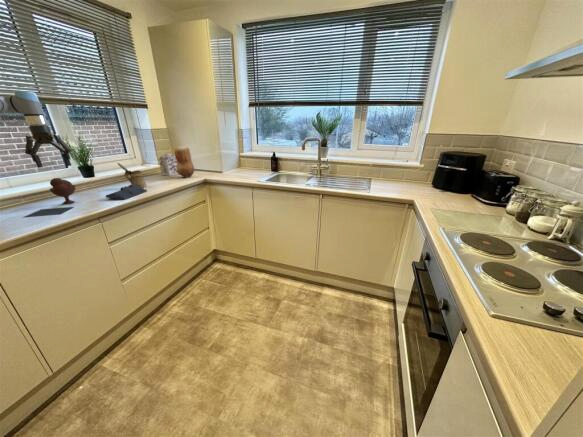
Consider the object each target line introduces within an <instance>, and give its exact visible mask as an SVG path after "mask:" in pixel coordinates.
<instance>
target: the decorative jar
mask: <svg viewBox="0 0 583 437" xmlns="http://www.w3.org/2000/svg"><path fill="white" fill-rule="evenodd" d="M158 162H159V166H160V171H161V175H162V176H167V177H171V176H177V175H179V174H178V172H177V160H176V157H175V154H171V153H169V152H167V153H164V155H161V156H160V157H159V158H158Z"/></svg>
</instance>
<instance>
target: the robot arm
mask: <svg viewBox="0 0 583 437" xmlns="http://www.w3.org/2000/svg"><path fill="white" fill-rule="evenodd" d="M18 113H20V114H22V115H23V117H24V119H25V121H26V124H27V125H28V129H29V131H30V134H32V135H29V134H28V135H25V142H26V143H25V150H24V154H25V155H30V156H31V160H32V161H33V162H35V164H36V167H37V169H39V168H43V167H44V165H43V162H42V161H41V158H40V156H39V154H37V153H38V151H39V149H40V147H41V146H42V145H52V146H53V147H54V148H56V149H57V150H58V151H60V152H61V153H62V154H61V155H62V158H63V161H64V162H65V165H66V167H70V166H72V162H71V161H70V160H71V156H70V153H72V152H73V149H71V148H70V146H68V145H67V143H66V142H64V140H63V139H62V138H61V135H60V134H52V131H51V128H50V126H49V125H48V121H47V119H46V116H45V113H44V110H43V107H42V104H41V101H40V100H39V98H38V96H37V94H36V93H35V92H34V91H30V90H29V91H28V90H15V91H14V95H0V114H18Z"/></svg>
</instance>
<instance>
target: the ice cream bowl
mask: <svg viewBox="0 0 583 437" xmlns="http://www.w3.org/2000/svg"><path fill="white" fill-rule="evenodd" d="M49 184H50V186H51V188H49V191H50V192H51V193H52V194H53V195H55V196H57V197H60V198H64V202H62V203H61V204H62V206H67V205H72V204H75V203H76V202H75V201H74V200H71V199H70V196H71V195H73V194H74V193H75V192H76V188H77V187H76V185H74V184H72V182H71V181H69V180H67V179H62V178H61V177H54V178H52V179H51V180H50V181H49Z"/></svg>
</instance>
